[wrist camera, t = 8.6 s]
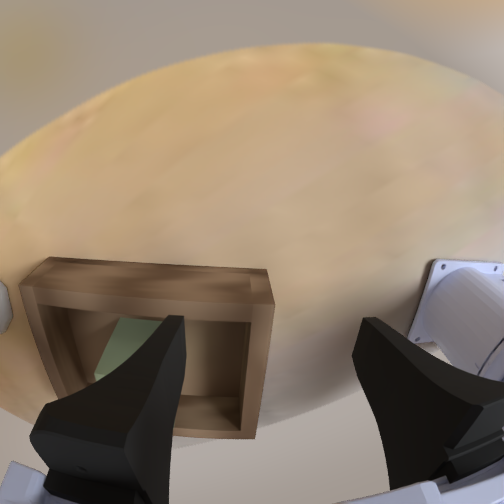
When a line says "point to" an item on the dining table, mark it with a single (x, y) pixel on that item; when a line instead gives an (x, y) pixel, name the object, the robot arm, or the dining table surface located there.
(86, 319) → the walnut crate
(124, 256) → the dining table surface
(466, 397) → the robot arm
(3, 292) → the flask
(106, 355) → the green block
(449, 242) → the dining table surface
